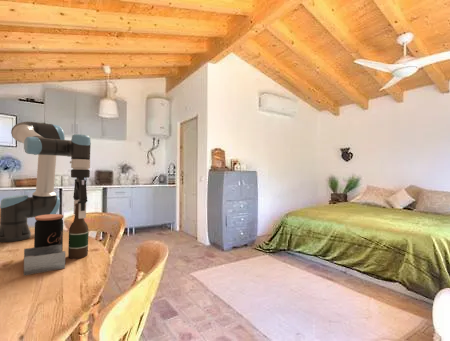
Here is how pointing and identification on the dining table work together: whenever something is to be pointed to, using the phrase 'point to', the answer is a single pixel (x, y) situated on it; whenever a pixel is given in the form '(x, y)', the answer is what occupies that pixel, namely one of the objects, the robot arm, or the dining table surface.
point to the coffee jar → (48, 230)
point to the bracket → (43, 259)
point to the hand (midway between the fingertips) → (79, 216)
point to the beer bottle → (78, 237)
